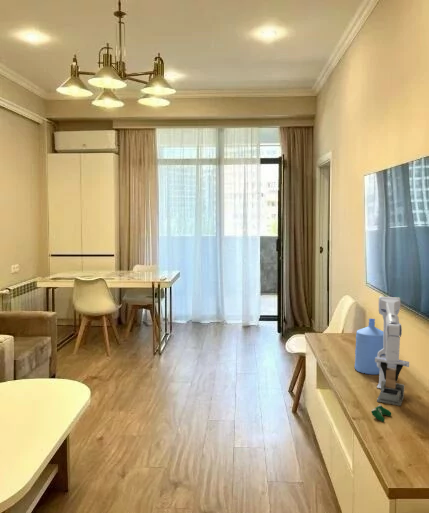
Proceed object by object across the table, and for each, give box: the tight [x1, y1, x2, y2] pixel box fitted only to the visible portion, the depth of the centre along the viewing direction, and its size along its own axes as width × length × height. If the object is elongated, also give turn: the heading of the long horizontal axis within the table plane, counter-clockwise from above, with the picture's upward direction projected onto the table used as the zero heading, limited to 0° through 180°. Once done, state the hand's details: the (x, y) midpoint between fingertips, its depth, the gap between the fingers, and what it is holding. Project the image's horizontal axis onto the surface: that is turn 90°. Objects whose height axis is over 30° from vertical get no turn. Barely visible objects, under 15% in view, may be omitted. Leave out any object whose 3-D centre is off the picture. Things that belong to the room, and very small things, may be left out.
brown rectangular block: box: [385, 368, 397, 389], centre depth 227 cm, size 4×4×8 cm
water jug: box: [354, 318, 386, 376], centre depth 269 cm, size 16×16×28 cm
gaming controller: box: [370, 404, 392, 422], centre depth 209 cm, size 9×4×6 cm
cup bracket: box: [376, 381, 405, 407], centre depth 229 cm, size 12×10×6 cm
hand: (391, 379), depth 227 cm, fingers closed on brown rectangular block, 4 cm apart
